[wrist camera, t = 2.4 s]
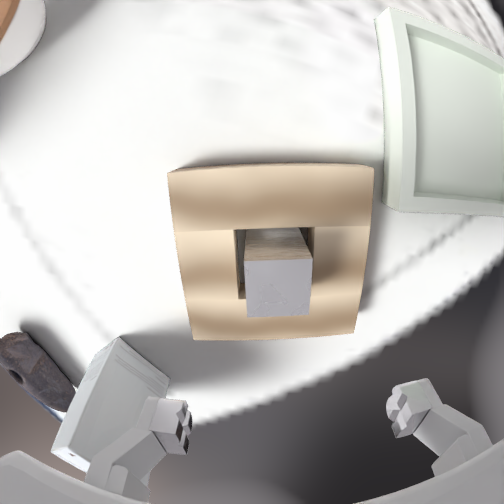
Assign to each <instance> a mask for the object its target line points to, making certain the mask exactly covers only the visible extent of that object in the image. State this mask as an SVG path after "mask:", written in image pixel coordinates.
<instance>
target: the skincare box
mask: <svg viewBox="0 0 504 504" xmlns="http://www.w3.org/2000/svg"><path fill="white" fill-rule="evenodd" d="M169 381H170V378H169V377H168V376H166V375H165V374H164V373H162V372H161V371H160V370H158V369H157V368H156V367H154V366H153V365H152V364H151V363H149V362H148V361H147V360H146V359H144V358H143V357H142V356H141V355H139V354H138V353H137V352H136V351H135V350H134V349H132V348H131V347H130V346H129V345H128V344H126V343H125V342H124V341H123V340H122V339H121V338H120V337H118V338H116V339H115V340H114V341H112V342H111V343H110V344H108V345H107V346H106V347H104V348H103V349H102V350H100V351H99V352H98V353H97V354H95V356H94V358H93V359H92V361H91V363H90V365H89V367H88V369H87V371H86V373H85V375H84V377H83V379H82V381H81V383H80V385H79V387H78V389H77V391H76V394H75V396H74V398H73V400H72V402H71V404H70V406H69V408H68V411H67V413H66V415H65V417H64V420H63V422H62V424H61V427H60V429H59V432H58V434H57V436H56V439H55V442H54V444H53V447H52V450H51V452H52V453H53V454H55V455H56V456H58V457H60V458H61V459H63V460H64V461H67V462H68V463H70V464H71V465H74V466H75V467H77V468H79V469H81V470H82V471H84V472H86V473H87V471H88V469H89V466H90V463H91V461H92V458H93V456H95V455H96V454H97V453H99V452H100V451H102V450H103V449H104V448H106V447H107V446H109V445H110V444H111V443H113V442H114V441H116V440H117V439H118V438H120V437H121V436H122V435H124V434H125V433H126V432H128V431H129V430H130V429H132V428H136V426H137V424H138V421H139V418H140V415H141V412H142V409H143V406H144V404H145V401H146V399H147V398H148V397H149V396H150V397H158V398H166V394H167V389H168V385H169ZM149 475H150V471H149V472H148V473H147V474H146V475H145V476H144V477H143V478H142V479H141V480H140V481H141V482H142V483H143V484H144V485H145V486H147V487H148V481H149Z"/></svg>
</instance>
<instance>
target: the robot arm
mask: <svg viewBox="0 0 504 504" xmlns="http://www.w3.org/2000/svg"><path fill="white" fill-rule="evenodd" d="M392 392H393V395H392V396H391V397H389V399H388V401H387V405H386V410H387V415H388V418H389V419H391V420H392V421H393V424H392V428H393V431H394V434H395V437H396V438H399V437H403V436H406V435H410V434H413V433H414V434H413V435H414V436H416V437H417V438H418V439H419V440H421V441H422V442H423V443H424V444H425V445H426V446H428V447H429V448H430V449H431V450H432V451H434V452H435V453H436V454H437V455H438V456H440V458H438V459H437V460H436V461H435V462H434V463H433V465H432V469H433V472H434V475H435V477H434V478H431V479H429V480H427V481H424V482H422V483H419V484H417V485H414V486H412V487H409V488H406V489H403V490H400V491H398V492H395V493H391V494H389V495H385V496H382V497H378V498H375V499H371V500H367V501H363V502H359V503H355V504H504V439H502V440H501V441H499V442H498V443H496V444H495V445H492V443H491V441H490V439H489V437H488V435H487V433H486V431H485V430H484V428H483V426H482V425H481V424H480V423H478V422H476V421H474V420H472V419H470V418H469V417H467V416H465V415H463V414H462V413H460V412H458V411H457V410H455V409H453V408H452V407H450V406H448V405H446V404H444V405H443V404H442V402H441V400H440V399H439V397H438V395H437V393H436V392H435V390H434V388H433V386H432V384H431V383H430V381H429V380H428V379H427V378H424V379H421V380H417V381H412V382H409V383H405V384H401V385H397V386H395V387H394V388H393V390H392ZM187 408H188V404H187V402H186V401H183V400H173V399H165V398H158V397H150V396H149V397H148V398H147V399H146V401H145V404H144V406H143V409H142V412H141V415H140V418H139V421H138V424H137V426H136V428H132V429H130V430H129V431H128V432H126V433H125V434H124V435H122V436H121V437H120V438H118V439H117V440H116V441H114V442H113V443H111V444H110V445H109V446H107V447H106V448H104V449H103V450H102V451H100V452H99V453H97V454H96V455H95V456H93V458H92V461H91V463H90V466H89V469H88V471H87V474H86V477H85V479H84V482H82V481H79V480H77V479H75V478H73V477H70V476H68V475H66V474H64V473H62V472H59V471H57V470H55V469H53V468H51V467H49V466H47V465H45V464H43V463H42V462H40V461H38V460H36V459H34V458H33V457H31V456H29V455H27V454H26V453H24V452H22V451H14V452H11V453H9V454H6V455H4V456H2V457H0V504H152V503H148V499H149V495H150V490H149V488H148V487H147V486H145V485H144V484H143V483H142V482H141V481H140V480H141V479H142V478H143V477H144V476H145V475H146V474H147V473H148V472H149V471H150V470H151V469H152V468H153V467H154V466H155V465H156V464H157V463H158V462H159V461H160V460H161V459H162V458H163V457H164V456H165V455H166V454H167V453H173V454H183V455H187V452H188V447H189V439H188V437H187V436H188V435H189V434H190V433H191V431H192V415H191V412H190V411H188V410H187Z"/></svg>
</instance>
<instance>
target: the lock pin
mask: <svg viewBox="0 0 504 504" xmlns="http://www.w3.org/2000/svg"><path fill="white" fill-rule="evenodd" d="M312 264H313V258H312V256H311V254H310V252H309V249H308V247H307V245H306V243H305V241H304V238H303V236H302V234H301V232H300V230H299V228H298V227H293V228H261V229H247V230H246V242H245V253H244V273H245V289H246V305H247V317H276V316H296V315H309V308H310V295H311V281H312Z"/></svg>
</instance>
